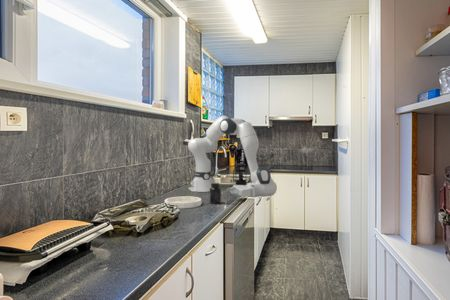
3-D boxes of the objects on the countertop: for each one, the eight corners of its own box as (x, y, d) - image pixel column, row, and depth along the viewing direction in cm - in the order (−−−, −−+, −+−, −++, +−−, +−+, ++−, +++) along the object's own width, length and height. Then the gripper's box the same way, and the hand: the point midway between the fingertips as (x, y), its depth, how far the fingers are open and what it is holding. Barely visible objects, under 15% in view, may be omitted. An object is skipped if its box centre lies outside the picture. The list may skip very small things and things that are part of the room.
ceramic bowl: (160, 203, 197) (160, 198, 197) (193, 199, 207) (193, 195, 207) (171, 209, 179) (171, 204, 179) (206, 206, 188) (206, 200, 188)
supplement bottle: (207, 202, 197) (207, 183, 197) (216, 201, 202) (216, 182, 201) (213, 204, 192) (213, 184, 191) (223, 203, 196) (223, 183, 196)
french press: (248, 183, 278) (248, 156, 277) (246, 185, 269) (246, 157, 268) (234, 183, 281) (234, 156, 280) (232, 184, 271) (232, 157, 270)
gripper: (246, 182, 211) (225, 183, 208) (255, 187, 191) (232, 188, 188) (246, 192, 211) (225, 193, 209) (255, 197, 191) (232, 199, 189)
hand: (228, 190), depth 198 cm, fingers open, 8 cm apart
